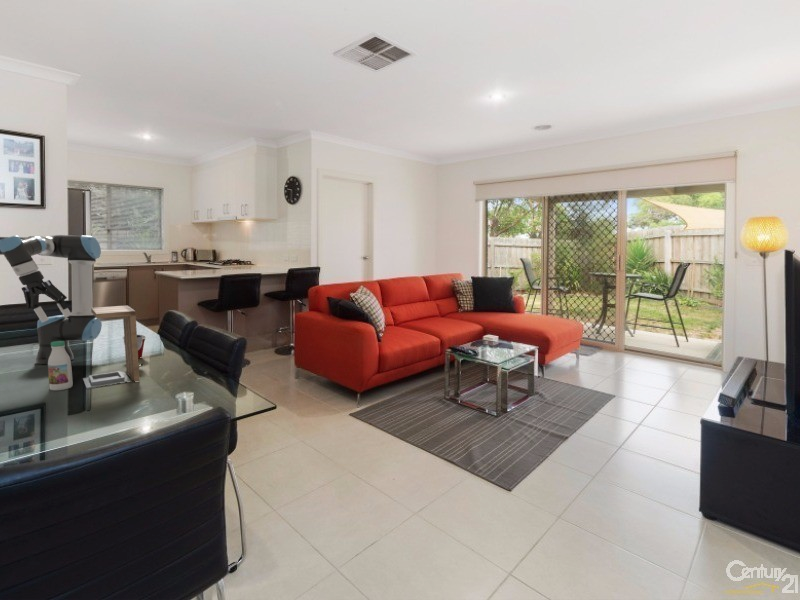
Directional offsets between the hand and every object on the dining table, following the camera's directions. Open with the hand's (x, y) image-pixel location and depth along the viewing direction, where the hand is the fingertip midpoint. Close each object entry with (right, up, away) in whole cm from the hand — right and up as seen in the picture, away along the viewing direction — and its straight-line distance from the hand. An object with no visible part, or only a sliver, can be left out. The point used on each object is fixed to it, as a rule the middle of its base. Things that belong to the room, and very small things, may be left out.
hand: (56, 318), depth 185 cm
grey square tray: (+16, -28, +8) cm, 33 cm away
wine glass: (+14, -25, +32) cm, 43 cm away
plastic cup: (+6, -23, +45) cm, 51 cm away
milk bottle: (+4, -29, -3) cm, 30 cm away
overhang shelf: (+19, -28, +10) cm, 35 cm away
